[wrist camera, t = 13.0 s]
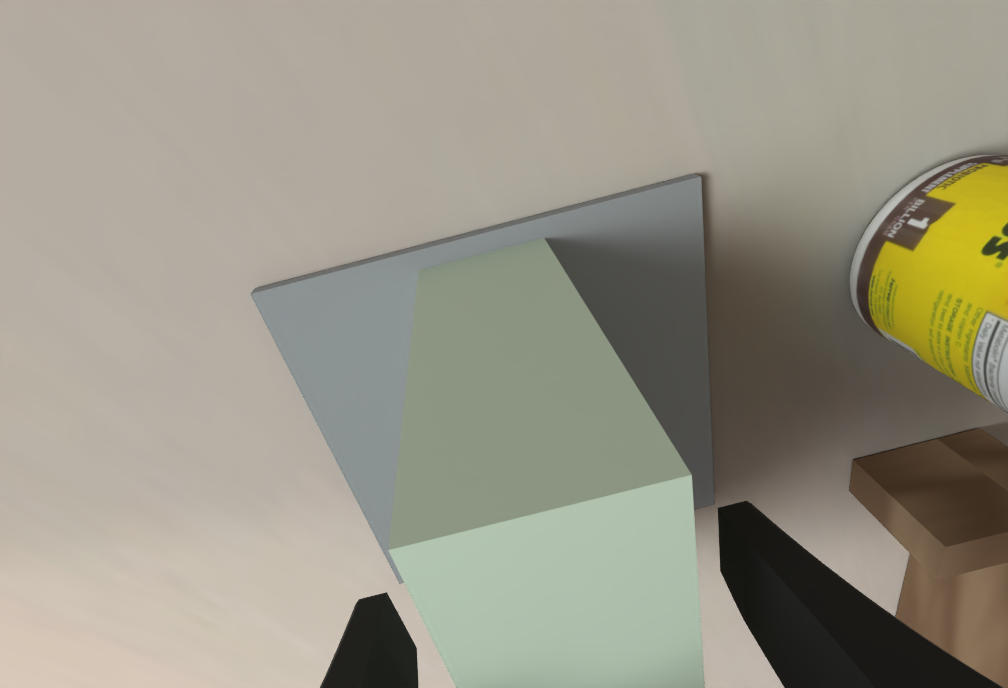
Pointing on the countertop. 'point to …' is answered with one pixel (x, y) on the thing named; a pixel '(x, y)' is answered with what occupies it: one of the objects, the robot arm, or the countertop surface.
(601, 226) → the slate mat
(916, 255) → the supplement bottle
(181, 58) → the countertop surface
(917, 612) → the walnut rack
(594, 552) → the tall sage green prism
